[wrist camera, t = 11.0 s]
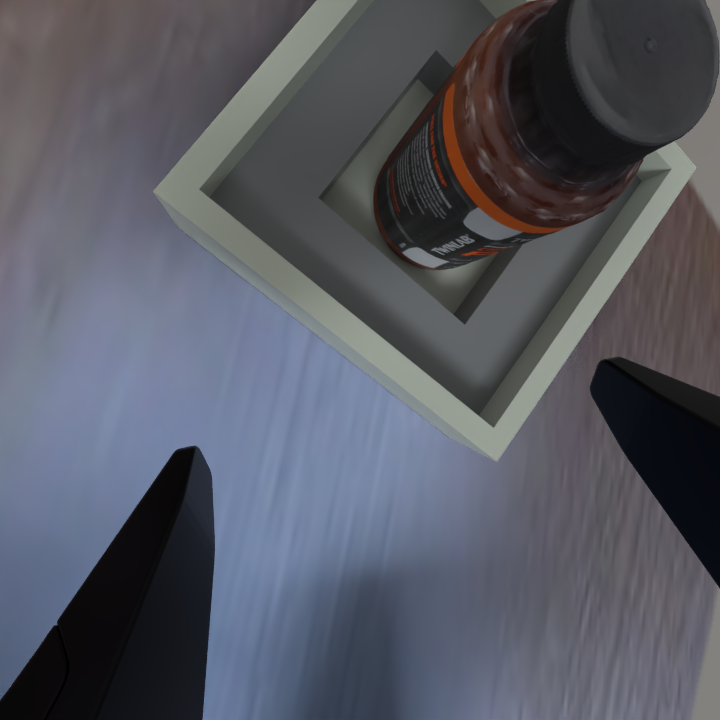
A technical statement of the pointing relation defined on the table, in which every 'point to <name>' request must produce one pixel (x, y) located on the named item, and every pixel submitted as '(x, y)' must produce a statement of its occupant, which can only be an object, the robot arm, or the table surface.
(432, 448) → the table surface
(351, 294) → the bore box
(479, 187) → the supplement bottle
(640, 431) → the robot arm
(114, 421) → the table surface
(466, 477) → the table surface
